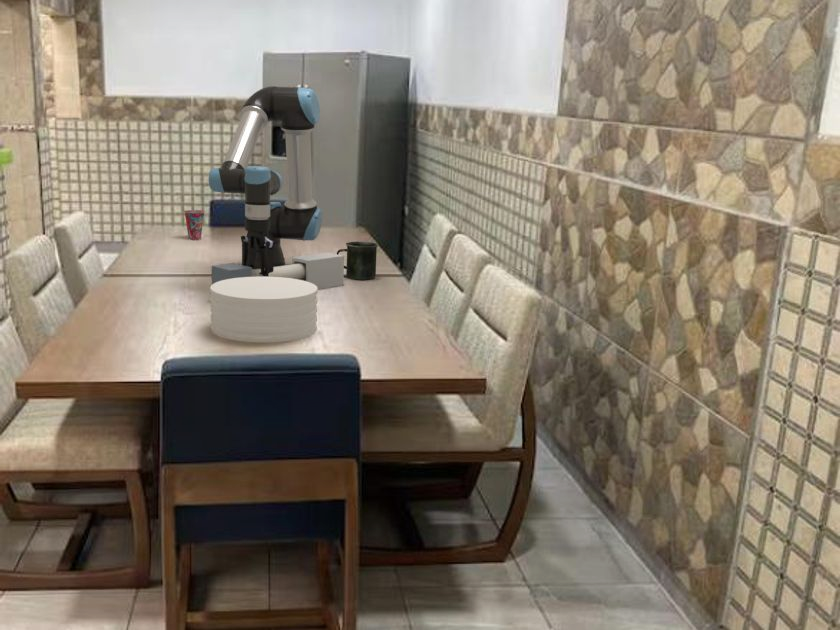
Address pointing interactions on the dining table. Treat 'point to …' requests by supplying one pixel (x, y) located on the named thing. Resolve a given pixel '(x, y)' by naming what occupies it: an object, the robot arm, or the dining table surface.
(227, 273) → the socket
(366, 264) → the mug
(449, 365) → the dining table surface
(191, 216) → the cup
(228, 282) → the plate stack
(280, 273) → the tube
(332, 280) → the sleeve
